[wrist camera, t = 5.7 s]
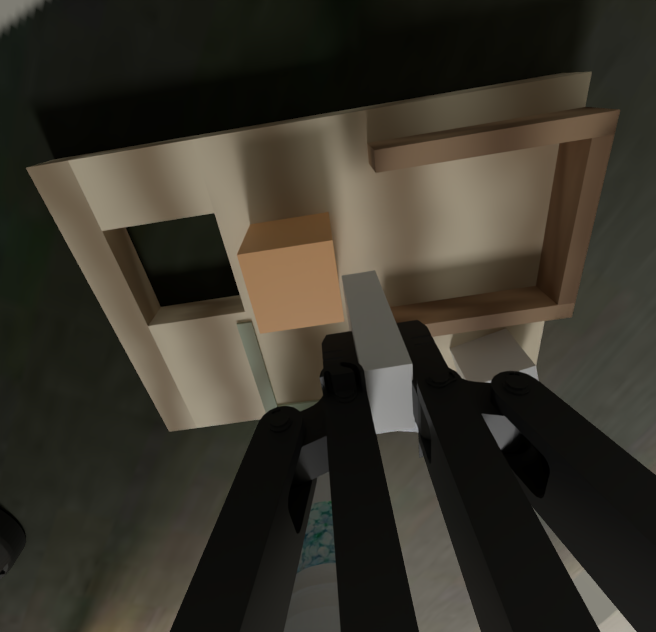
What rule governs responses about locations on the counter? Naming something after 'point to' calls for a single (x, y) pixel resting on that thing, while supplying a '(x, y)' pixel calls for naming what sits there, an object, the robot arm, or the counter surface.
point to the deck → (300, 200)
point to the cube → (291, 273)
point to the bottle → (316, 571)
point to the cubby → (562, 220)
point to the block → (491, 357)
